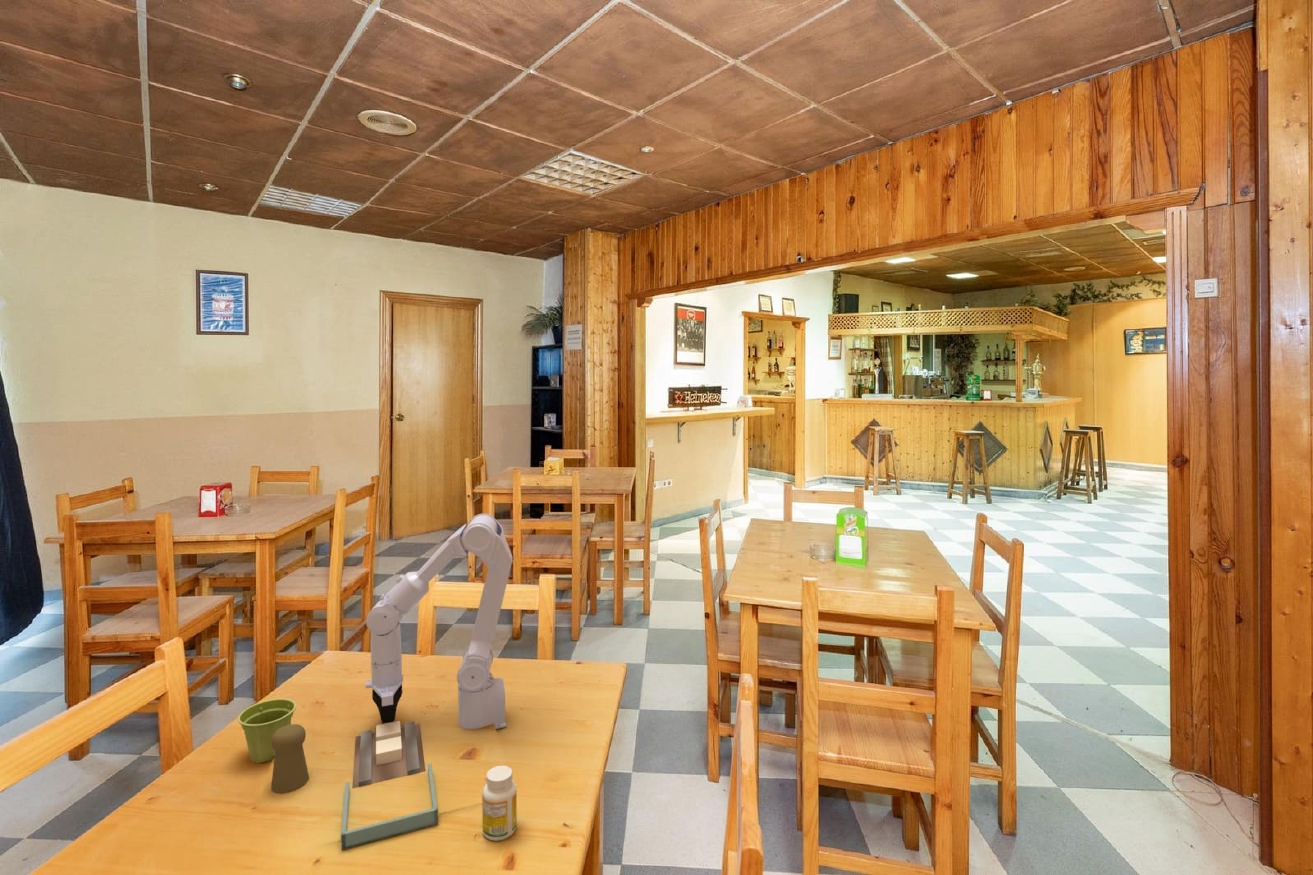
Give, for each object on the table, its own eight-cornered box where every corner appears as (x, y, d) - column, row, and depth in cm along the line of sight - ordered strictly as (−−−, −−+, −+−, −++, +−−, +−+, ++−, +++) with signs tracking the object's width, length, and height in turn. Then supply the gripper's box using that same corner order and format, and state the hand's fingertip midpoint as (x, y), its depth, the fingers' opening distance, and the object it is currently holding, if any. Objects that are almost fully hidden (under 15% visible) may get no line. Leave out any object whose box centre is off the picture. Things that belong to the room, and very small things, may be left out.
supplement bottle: (495, 847, 95) (494, 788, 94) (475, 830, 98) (474, 774, 97) (523, 828, 99) (523, 772, 98) (503, 813, 102) (503, 758, 101)
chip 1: (400, 730, 124) (400, 720, 124) (400, 742, 120) (400, 731, 120) (376, 735, 122) (376, 725, 122) (376, 747, 118) (376, 737, 118)
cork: (292, 801, 104) (289, 740, 103) (261, 796, 105) (259, 736, 105) (318, 779, 110) (315, 721, 109) (289, 775, 111) (286, 717, 110)
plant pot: (308, 747, 120) (306, 705, 119) (260, 774, 111) (258, 729, 111) (277, 735, 124) (276, 694, 123) (228, 761, 115) (226, 717, 114)
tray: (431, 776, 111) (431, 763, 111) (438, 824, 99) (437, 809, 99) (345, 796, 106) (345, 782, 105) (341, 850, 94) (341, 835, 93)
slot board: (420, 728, 127) (419, 719, 127) (425, 776, 111) (425, 766, 111) (355, 741, 122) (355, 732, 122) (352, 793, 106) (352, 783, 106)
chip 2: (401, 747, 119) (400, 736, 118) (402, 759, 115) (401, 748, 114) (376, 752, 117) (376, 741, 117) (376, 765, 113) (375, 754, 113)
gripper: (365, 648, 129) (367, 709, 131) (363, 678, 116) (365, 746, 117) (401, 642, 132) (403, 702, 133) (403, 671, 119) (405, 737, 120)
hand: (388, 722), depth 126 cm, fingers closed
